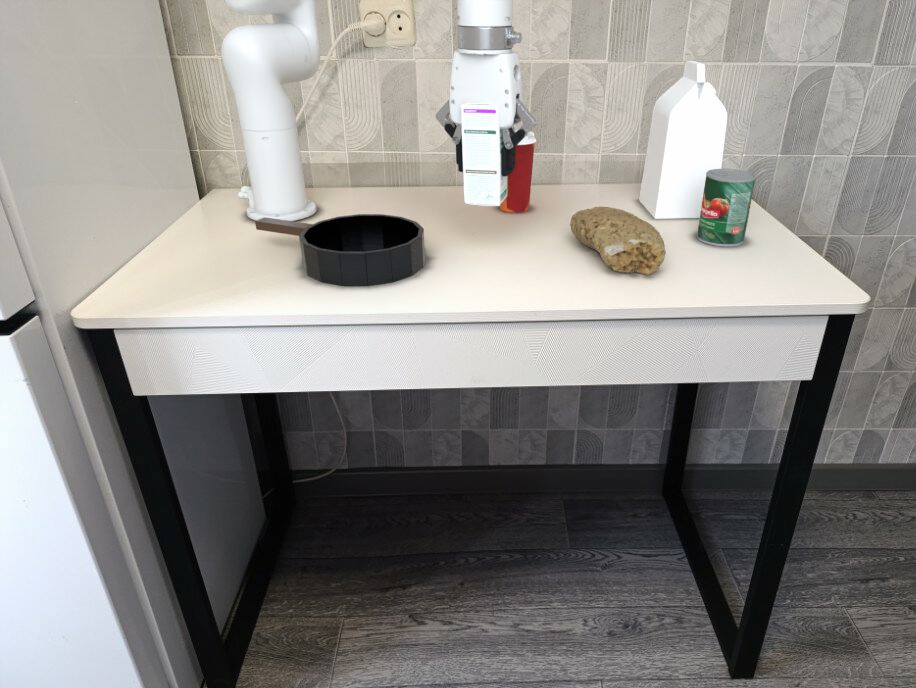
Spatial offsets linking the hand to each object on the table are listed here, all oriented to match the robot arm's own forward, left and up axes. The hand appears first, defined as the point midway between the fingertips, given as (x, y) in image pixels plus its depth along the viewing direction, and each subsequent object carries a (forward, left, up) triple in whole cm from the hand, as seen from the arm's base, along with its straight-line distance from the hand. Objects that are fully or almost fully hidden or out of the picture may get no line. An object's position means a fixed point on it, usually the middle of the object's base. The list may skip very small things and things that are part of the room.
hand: (485, 171), depth 105 cm
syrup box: (0, 0, -5) cm, 5 cm away
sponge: (+19, +8, -14) cm, 25 cm away
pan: (-21, -11, -13) cm, 27 cm away
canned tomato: (+34, +23, -14) cm, 43 cm away
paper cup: (-5, +26, -14) cm, 30 cm away
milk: (+24, +38, -14) cm, 47 cm away
